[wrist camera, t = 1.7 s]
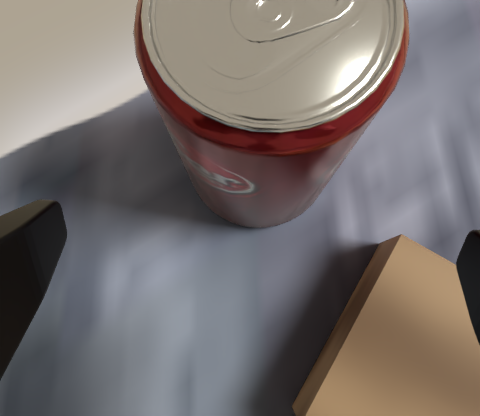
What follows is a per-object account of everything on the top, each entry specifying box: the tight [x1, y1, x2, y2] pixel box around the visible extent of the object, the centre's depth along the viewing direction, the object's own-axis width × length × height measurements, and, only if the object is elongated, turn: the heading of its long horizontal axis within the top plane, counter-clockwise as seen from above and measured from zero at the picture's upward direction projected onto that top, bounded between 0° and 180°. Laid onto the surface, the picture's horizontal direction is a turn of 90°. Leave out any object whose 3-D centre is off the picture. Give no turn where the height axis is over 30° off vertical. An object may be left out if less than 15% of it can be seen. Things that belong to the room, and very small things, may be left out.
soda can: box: [134, 0, 409, 228], centre depth 16 cm, size 7×7×12 cm
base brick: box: [292, 234, 480, 416], centre depth 18 cm, size 9×9×3 cm
